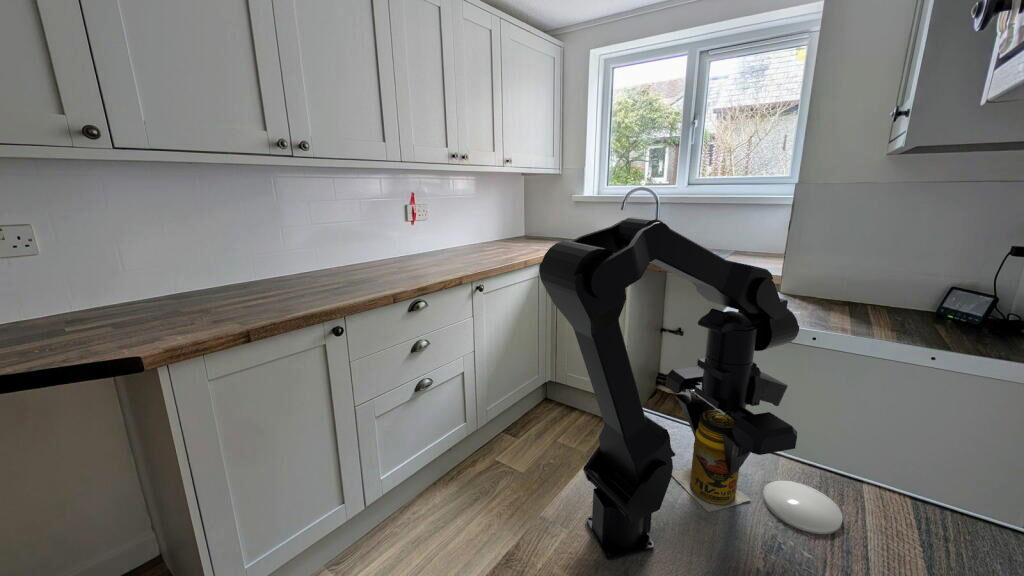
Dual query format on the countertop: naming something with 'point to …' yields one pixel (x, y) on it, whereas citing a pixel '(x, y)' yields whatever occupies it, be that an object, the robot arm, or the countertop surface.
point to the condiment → (711, 465)
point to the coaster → (802, 507)
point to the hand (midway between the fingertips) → (716, 458)
